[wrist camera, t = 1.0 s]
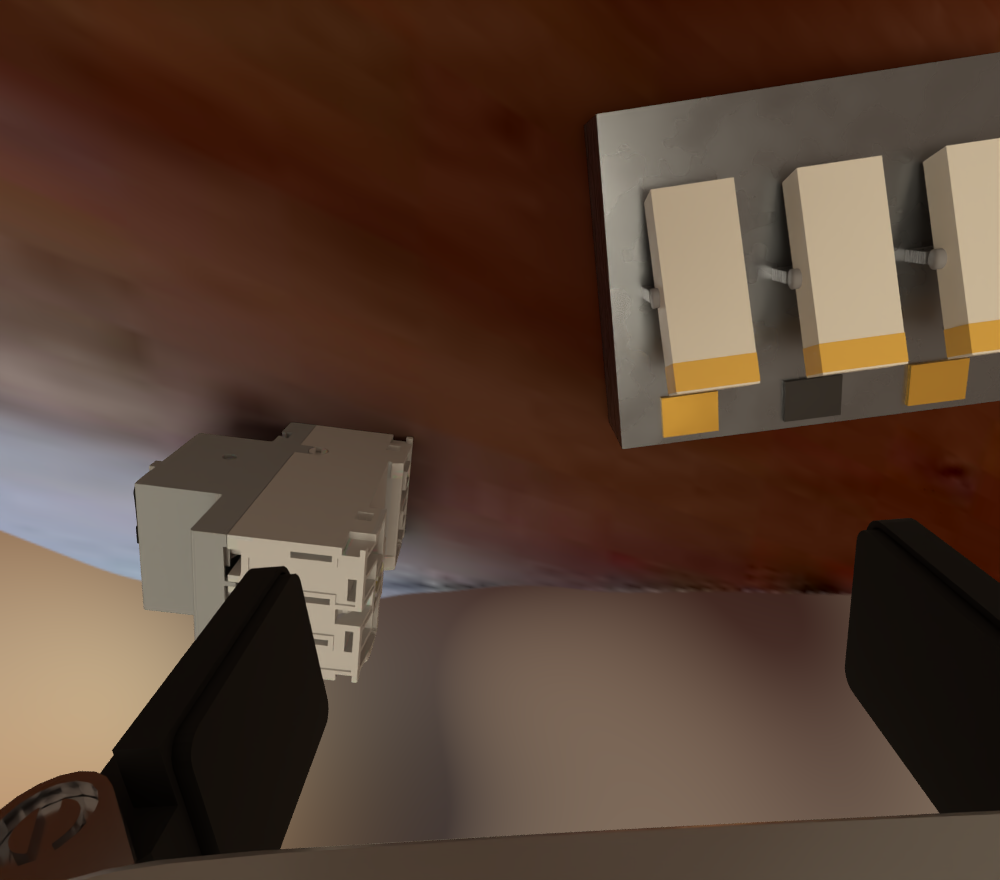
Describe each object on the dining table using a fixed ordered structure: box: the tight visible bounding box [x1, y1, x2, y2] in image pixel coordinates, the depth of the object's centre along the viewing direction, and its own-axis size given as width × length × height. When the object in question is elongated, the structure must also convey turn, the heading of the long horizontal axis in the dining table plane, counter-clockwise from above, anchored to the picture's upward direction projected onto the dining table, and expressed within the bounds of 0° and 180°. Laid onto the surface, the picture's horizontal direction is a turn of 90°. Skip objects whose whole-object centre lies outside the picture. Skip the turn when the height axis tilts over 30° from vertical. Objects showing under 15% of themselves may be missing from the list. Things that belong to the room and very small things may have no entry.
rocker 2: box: [782, 155, 909, 378], centre depth 32 cm, size 10×5×2 cm, turn 8°
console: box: [584, 52, 1000, 449], centre depth 36 cm, size 18×22×7 cm
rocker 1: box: [644, 177, 760, 396], centre depth 32 cm, size 10×5×2 cm, turn 8°
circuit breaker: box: [134, 422, 413, 683], centre depth 37 cm, size 8×14×15 cm, turn 82°
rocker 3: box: [923, 138, 1000, 359], centre depth 31 cm, size 10×5×2 cm, turn 8°
